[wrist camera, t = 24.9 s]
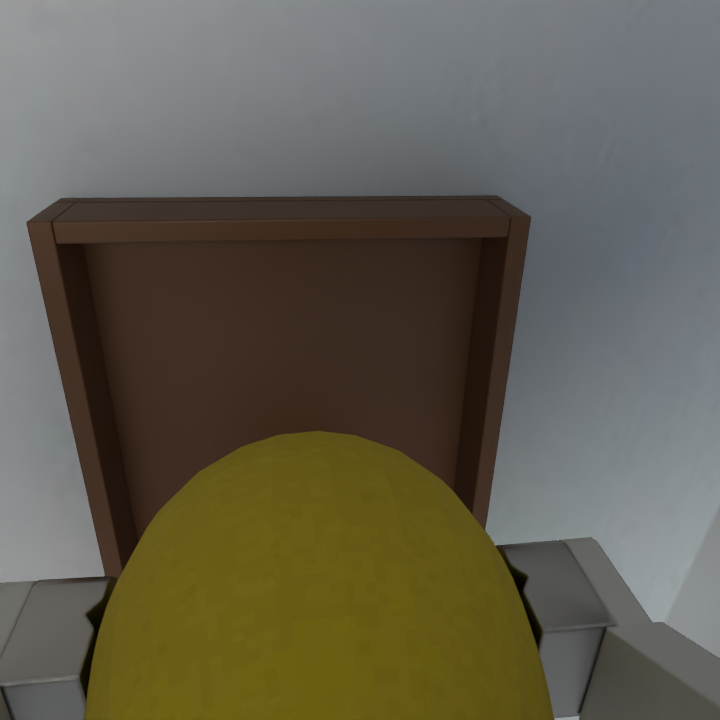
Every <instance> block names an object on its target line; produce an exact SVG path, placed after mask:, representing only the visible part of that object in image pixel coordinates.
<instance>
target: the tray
mask: <svg viewBox="0 0 720 720" xmlns="http://www.w3.org/2000/svg"><path fill="white" fill-rule="evenodd" d="M530 221H531V217H530V216H529V215H527V214H526V213H524V212H523V211H521V210H519V209H518V208H516V207H515V206H513V205H511V204H510V203H508V202H507V201H505V200H503V199H502V198H500V197H499V196H364V197H203V198H61V199H59V200H58V201H56V202H55V203H53V204H51V205H50V206H49V207H47V208H46V209H44V210H43V211H41V212H40V213H39V214H37V215H36V216H34V217H33V218H32V219H30V220H29V221H27V227H28V232H29V236H30V241H31V245H32V250H33V254H34V259H35V263H36V268H37V272H38V277H39V281H40V286H41V290H42V295H43V299H44V303H45V308H46V312H47V317H48V321H49V326H50V330H51V335H52V339H53V344H54V348H55V353H56V357H57V362H58V366H59V371H60V375H61V380H62V384H63V389H64V393H65V397H66V402H67V406H68V411H69V415H70V420H71V424H72V429H73V433H74V438H75V442H76V447H77V451H78V456H79V460H80V465H81V469H82V474H83V478H84V482H85V487H86V491H87V496H88V500H89V505H90V509H91V514H92V518H93V523H94V527H95V532H96V536H97V541H98V545H99V550H100V554H101V559H102V563H103V568H104V572H105V576H113V577H116V578H117V580H118V579H119V577H120V576H121V574H122V572H123V570H124V568H125V566H126V564H127V563H128V561H129V559H130V557H131V555H132V554H133V552H134V550H135V548H136V546H137V545H138V543H139V541H140V539H141V537H142V535H143V534H144V532H145V530H146V528H147V527H148V525H149V524H150V522H151V521H152V520H153V518H154V517H155V515H156V514H157V513H158V511H159V510H160V509H161V508H162V507H163V506H164V505H165V504H166V503H167V502H168V501H169V500H170V499H171V498H172V497H173V496H174V495H175V494H176V493H177V492H179V491H180V490H181V489H182V488H183V487H184V486H185V485H186V484H187V483H188V482H189V481H190V480H191V479H192V478H193V477H194V476H195V475H196V474H197V473H198V472H200V471H201V470H203V469H205V468H206V467H208V466H210V465H211V464H213V463H215V462H216V461H218V460H220V459H221V458H223V457H225V456H226V455H228V454H230V453H232V452H233V451H235V450H237V449H238V448H240V447H242V446H245V445H248V444H251V443H254V442H258V441H261V440H264V439H267V438H270V437H273V436H276V435H281V434H291V433H301V432H311V431H323V432H332V433H341V434H350V435H356V436H359V437H362V438H365V439H368V440H371V441H373V442H376V443H379V444H382V445H385V446H388V447H391V448H393V449H396V450H399V451H401V452H402V453H403V454H405V455H406V456H408V457H409V458H411V459H412V460H414V461H415V462H417V463H418V464H420V465H421V466H422V467H424V468H425V469H427V470H428V471H430V472H431V473H433V474H434V475H436V476H437V477H438V478H440V479H441V480H442V481H443V482H444V483H445V484H446V485H447V486H448V487H450V488H451V489H452V490H453V491H454V493H455V494H456V495H457V496H458V498H459V499H460V500H461V501H462V503H463V504H464V505H465V506H466V508H467V509H468V510H469V511H470V513H471V514H472V515H473V516H474V518H475V519H476V520H477V521H478V523H479V524H480V525H481V526H482V528H483V529H484V530H485V528H486V521H487V514H488V507H489V501H490V494H491V487H492V480H493V473H494V466H495V460H496V453H497V446H498V439H499V432H500V425H501V419H502V412H503V405H504V398H505V391H506V384H507V378H508V371H509V364H510V357H511V350H512V344H513V337H514V330H515V323H516V316H517V309H518V303H519V296H520V289H521V282H522V275H523V268H524V262H525V255H526V248H527V241H528V234H529V227H530Z"/></svg>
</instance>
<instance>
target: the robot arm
mask: <svg viewBox="0 0 720 720" xmlns="http://www.w3.org/2000/svg"><path fill="white" fill-rule="evenodd" d="M496 548H497V549H498V551H499V553H500V554H501V556H502V558H503V560H504V562H505V564H506V566H507V568H508V570H509V571H510V573H511V575H512V577H513V580H514V582H515V585H516V587H517V590H518V592H519V595H520V598H521V600H522V603H523V606H524V609H525V612H526V615H527V618H528V621H529V623H530V626H531V629H532V632H533V635H534V639H535V642H536V645H537V648H538V651H539V655H540V658H541V661H542V665H543V669H544V673H545V677H546V681H547V685H548V690H549V694H550V699H551V705H552V710H553V716H554V718H561V717H573V716H580V717H579V720H720V658H718V657H717V656H715V655H714V654H712V653H710V652H709V651H707V650H705V649H704V648H702V647H701V646H699V645H698V644H696V643H695V642H693V641H692V640H690V639H688V638H687V637H685V636H684V635H682V634H680V633H679V632H677V631H676V630H674V629H673V628H671V627H669V626H668V625H666V624H665V623H663V622H654V623H653V622H652V621H651V620H650V618H649V617H648V615H647V614H646V612H645V611H644V609H643V608H642V606H641V605H640V603H639V602H638V600H637V599H636V598H635V596H634V595H633V593H632V592H631V590H630V589H629V587H628V586H627V584H626V583H625V581H624V580H623V578H622V577H621V576H620V574H619V573H618V571H617V570H616V568H615V567H614V565H613V564H612V562H611V561H610V559H609V558H608V557H607V555H606V554H605V552H604V551H603V549H602V548H601V546H600V545H599V543H598V542H597V541H596V540H594V539H593V538H591V537H587V538H576V539H565V540H559V541H556V540H554V541H542V542H531V543H520V544H508V545H497V546H496ZM117 581H118V580H117V578H116V577H113V576H104V577H86V578H67V579H49V580H39V581H26V582H6V583H0V720H84V713H85V706H86V699H87V692H88V685H89V679H90V672H91V665H92V659H93V655H94V650H95V646H96V641H97V637H98V632H99V629H100V626H101V623H102V619H103V616H104V613H105V610H106V607H107V604H108V602H109V600H110V597H111V595H112V592H113V590H114V588H115V585H116V583H117Z"/></svg>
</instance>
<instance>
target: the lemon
mask: <svg viewBox="0 0 720 720" xmlns="http://www.w3.org/2000/svg"><path fill="white" fill-rule="evenodd" d="M84 720H554V716H553V710H552V705H551V699H550V694H549V690H548V685H547V681H546V677H545V673H544V669H543V665H542V661H541V658H540V655H539V651H538V648H537V645H536V642H535V639H534V635H533V632H532V629H531V626H530V623H529V621H528V618H527V615H526V612H525V609H524V606H523V603H522V600H521V598H520V595H519V592H518V590H517V587H516V585H515V582H514V580H513V577H512V575H511V573H510V571H509V570H508V568H507V566H506V564H505V562H504V560H503V558H502V556H501V554H500V553H499V551H498V549H497V548H496V546H495V545H494V543H493V541H492V540H491V538H490V537H489V535H488V534H487V533H486V532H485V530H484V529H483V528H482V526H481V525H480V524H479V523H478V521H477V520H476V519H475V518H474V516H473V515H472V514H471V513H470V511H469V510H468V509H467V508H466V506H465V505H464V504H463V503H462V501H461V500H460V499H459V498H458V496H457V495H456V494H455V493H454V491H453V490H452V489H451V488H450V487H448V486H447V485H446V484H445V483H444V482H443V481H442V480H441V479H440V478H438V477H437V476H436V475H434V474H433V473H431V472H430V471H428V470H427V469H425V468H424V467H422V466H421V465H420V464H418V463H417V462H415V461H414V460H412V459H411V458H409V457H408V456H406V455H405V454H403V453H402V452H401V451H399V450H396V449H393V448H391V447H388V446H385V445H382V444H379V443H376V442H373V441H371V440H368V439H365V438H362V437H359V436H356V435H350V434H341V433H332V432H323V431H311V432H301V433H291V434H281V435H276V436H273V437H270V438H267V439H264V440H261V441H258V442H254V443H251V444H248V445H245V446H242V447H240V448H238V449H237V450H235V451H233V452H232V453H230V454H228V455H226V456H225V457H223V458H221V459H220V460H218V461H216V462H215V463H213V464H211V465H210V466H208V467H206V468H205V469H203V470H201V471H200V472H198V473H197V474H196V475H195V476H194V477H193V478H192V479H191V480H190V481H189V482H188V483H187V484H186V485H185V486H184V487H183V488H182V489H181V490H180V491H179V492H177V493H176V494H175V495H174V496H173V497H172V498H171V499H170V500H169V501H168V502H167V503H166V504H165V505H164V506H163V507H162V508H161V509H160V510H159V511H158V513H157V514H156V515H155V517H154V518H153V520H152V521H151V522H150V524H149V525H148V527H147V528H146V530H145V532H144V534H143V535H142V537H141V539H140V541H139V543H138V545H137V546H136V548H135V550H134V552H133V554H132V555H131V557H130V559H129V561H128V563H127V564H126V566H125V568H124V570H123V572H122V574H121V576H120V577H119V579H118V581H117V583H116V585H115V588H114V590H113V592H112V595H111V597H110V600H109V602H108V604H107V607H106V610H105V613H104V616H103V619H102V623H101V626H100V629H99V632H98V637H97V641H96V646H95V650H94V655H93V659H92V665H91V672H90V679H89V685H88V692H87V699H86V706H85V713H84Z"/></svg>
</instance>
